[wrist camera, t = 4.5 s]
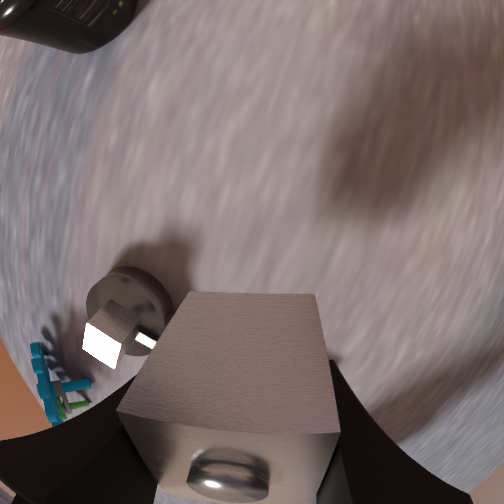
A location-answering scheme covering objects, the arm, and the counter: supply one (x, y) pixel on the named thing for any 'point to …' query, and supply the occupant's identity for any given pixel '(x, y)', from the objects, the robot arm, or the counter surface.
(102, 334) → the ratchet
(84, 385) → the gear
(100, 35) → the supplement bottle
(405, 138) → the counter surface
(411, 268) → the counter surface
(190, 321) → the socket
